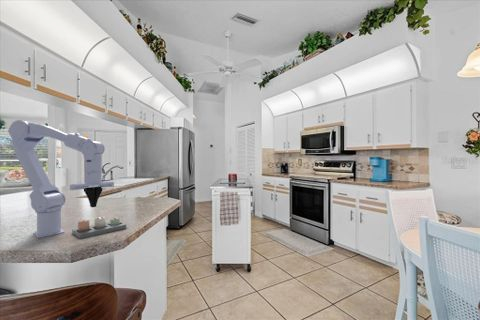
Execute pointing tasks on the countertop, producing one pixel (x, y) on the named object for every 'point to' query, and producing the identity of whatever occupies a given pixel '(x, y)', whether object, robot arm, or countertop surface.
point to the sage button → (114, 221)
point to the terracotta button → (83, 225)
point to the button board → (98, 230)
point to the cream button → (100, 222)
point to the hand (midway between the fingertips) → (93, 206)
